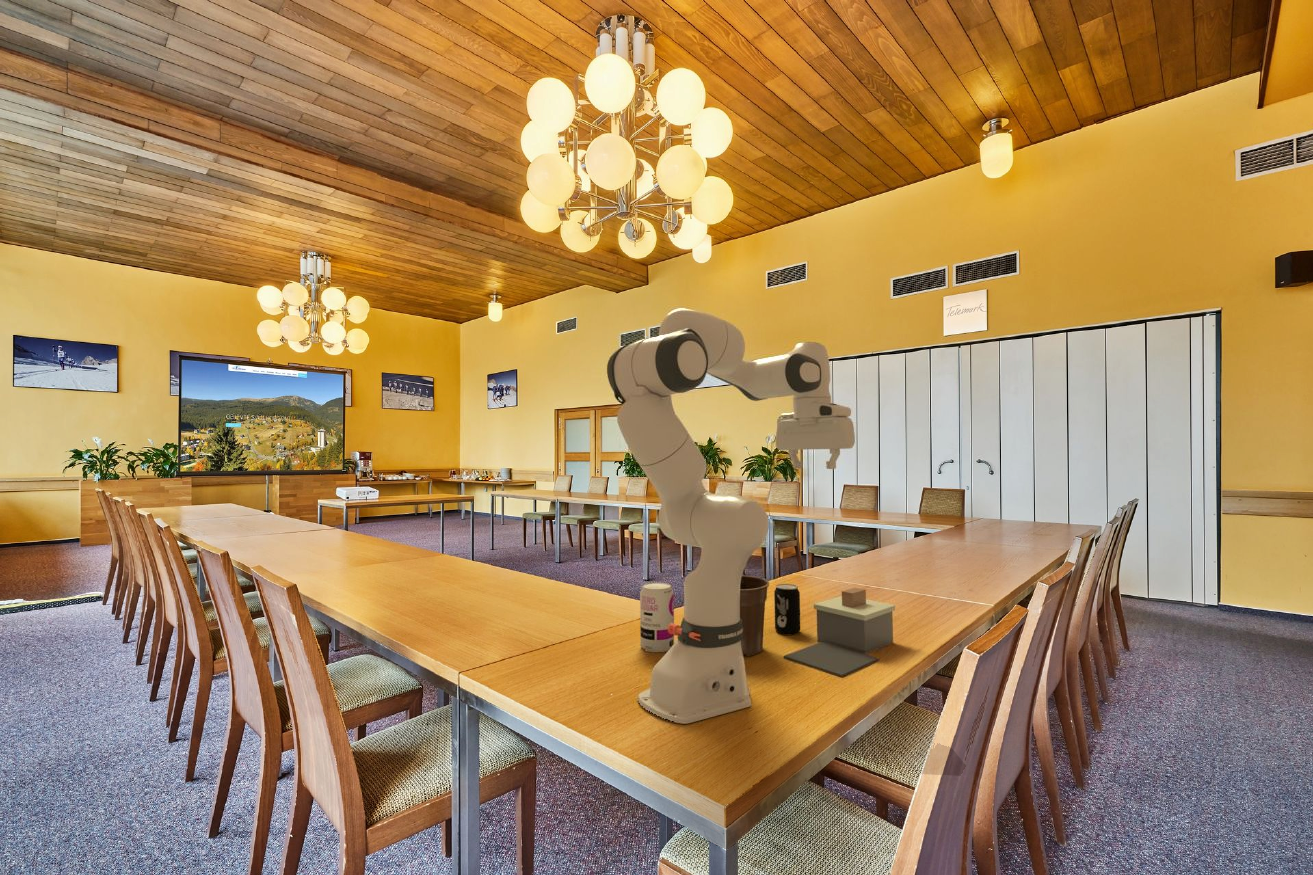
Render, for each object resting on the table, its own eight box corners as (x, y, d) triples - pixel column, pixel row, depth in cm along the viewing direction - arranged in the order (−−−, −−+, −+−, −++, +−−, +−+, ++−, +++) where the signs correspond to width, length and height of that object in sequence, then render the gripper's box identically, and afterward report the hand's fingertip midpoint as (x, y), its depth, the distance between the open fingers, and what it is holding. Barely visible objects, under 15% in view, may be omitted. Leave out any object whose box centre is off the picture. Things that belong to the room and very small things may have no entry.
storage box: (865, 654, 130) (864, 619, 130) (817, 640, 140) (816, 608, 140) (893, 642, 138) (892, 609, 139) (846, 630, 148) (845, 600, 149)
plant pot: (691, 653, 132) (691, 585, 132) (717, 634, 146) (716, 572, 147) (758, 665, 124) (757, 592, 125) (778, 643, 138) (777, 578, 139)
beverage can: (803, 635, 144) (802, 588, 145) (777, 635, 144) (776, 589, 145) (797, 627, 151) (796, 583, 151) (772, 628, 151) (772, 583, 152)
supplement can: (675, 642, 140) (674, 582, 140) (672, 654, 132) (672, 589, 132) (643, 641, 141) (642, 581, 141) (638, 653, 132) (638, 589, 133)
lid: (865, 625, 130) (864, 600, 130) (813, 612, 140) (813, 589, 141) (895, 614, 138) (894, 590, 139) (844, 603, 149) (844, 581, 149)
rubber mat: (841, 677, 117) (841, 674, 117) (783, 657, 128) (783, 655, 128) (878, 660, 126) (878, 658, 126) (821, 643, 138) (821, 641, 138)
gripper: (769, 413, 140) (771, 468, 140) (842, 407, 124) (844, 469, 124) (785, 414, 144) (786, 467, 144) (857, 408, 128) (859, 468, 128)
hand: (813, 468), depth 134 cm, fingers open, 8 cm apart
